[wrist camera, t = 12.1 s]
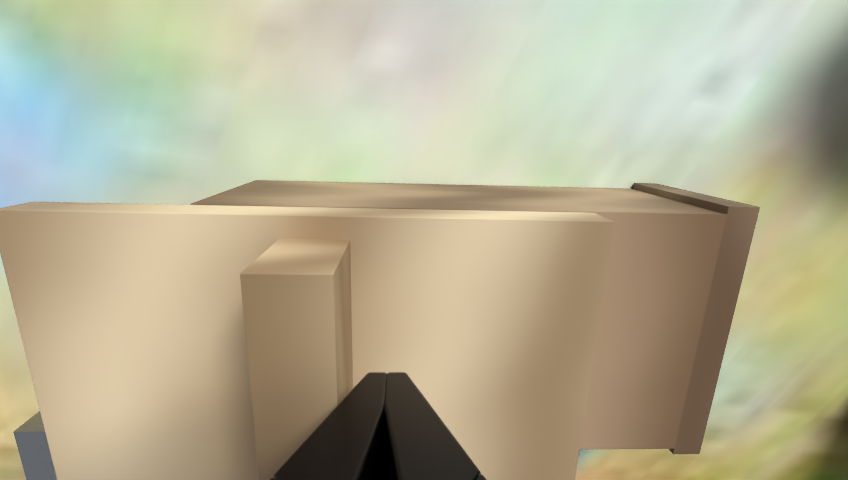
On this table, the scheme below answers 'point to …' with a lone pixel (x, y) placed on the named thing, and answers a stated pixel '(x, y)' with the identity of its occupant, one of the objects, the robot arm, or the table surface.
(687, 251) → the tan boxy piece
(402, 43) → the table surface
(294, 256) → the lid
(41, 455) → the socket
